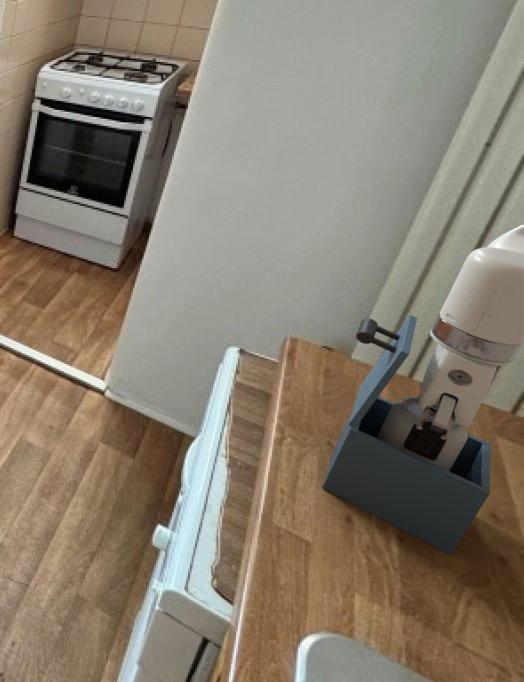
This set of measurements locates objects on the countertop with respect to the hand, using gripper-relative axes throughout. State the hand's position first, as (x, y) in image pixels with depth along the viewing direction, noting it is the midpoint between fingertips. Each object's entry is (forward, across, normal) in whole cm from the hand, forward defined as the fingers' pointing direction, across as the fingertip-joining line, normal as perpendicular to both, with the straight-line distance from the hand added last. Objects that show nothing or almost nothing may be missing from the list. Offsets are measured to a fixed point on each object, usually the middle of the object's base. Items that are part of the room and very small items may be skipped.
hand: (421, 437), depth 86 cm
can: (+8, 0, 0) cm, 8 cm away
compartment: (+12, 0, 0) cm, 12 cm away
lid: (-8, 0, +6) cm, 10 cm away
